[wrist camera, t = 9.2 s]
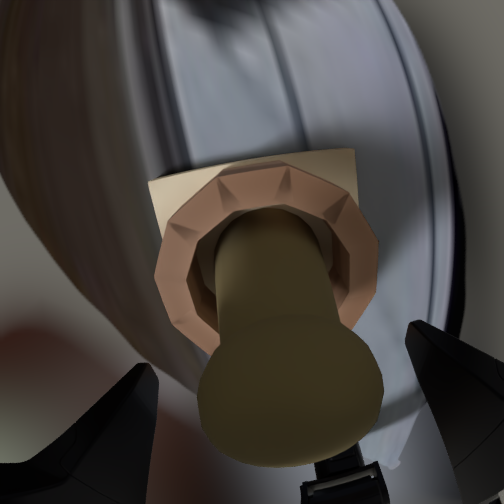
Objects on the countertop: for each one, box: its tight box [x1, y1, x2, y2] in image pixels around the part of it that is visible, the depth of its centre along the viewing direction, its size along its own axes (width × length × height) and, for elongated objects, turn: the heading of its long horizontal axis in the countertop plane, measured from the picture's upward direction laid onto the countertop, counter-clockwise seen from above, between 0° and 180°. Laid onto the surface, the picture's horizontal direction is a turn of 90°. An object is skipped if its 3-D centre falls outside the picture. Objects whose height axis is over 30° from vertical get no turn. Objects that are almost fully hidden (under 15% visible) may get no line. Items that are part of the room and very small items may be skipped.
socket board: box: [148, 148, 379, 356], centre depth 14 cm, size 11×11×4 cm
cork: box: [197, 208, 384, 468], centre depth 10 cm, size 6×6×11 cm
